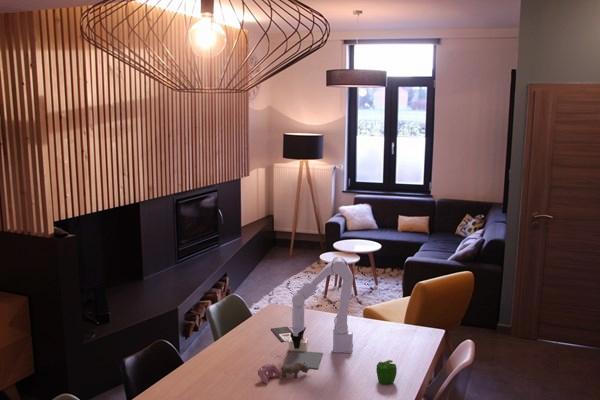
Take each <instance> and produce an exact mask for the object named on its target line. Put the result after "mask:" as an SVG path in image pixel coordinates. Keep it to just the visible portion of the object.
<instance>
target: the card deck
mask: <svg viewBox="0 0 600 400" xmlns="http://www.w3.org/2000/svg"><path fill="white" fill-rule="evenodd" d="M308 345H309V339H308V338H306V337H303V338H301V341H300V347H299V349H295V348H294V344H293V340H292V338H291V337H290V339H289V341H288V351H291V350H293V351H308V347H309V346H308Z"/></svg>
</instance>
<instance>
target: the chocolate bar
mask: <svg viewBox="0 0 600 400" xmlns="http://www.w3.org/2000/svg"><path fill="white" fill-rule="evenodd" d="M270 331H271V332H272V333H273V334H274V335H275V336H276V338H277V339H279V341H280V342H281V343H284V342H289V339H290V337H291V336H290V335H291V333H292V334H293V330H292V329H291V328H290V327H288V326H281V327H272V328H270Z"/></svg>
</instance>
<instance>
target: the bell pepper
mask: <svg viewBox="0 0 600 400" xmlns="http://www.w3.org/2000/svg"><path fill="white" fill-rule="evenodd" d="M397 369H398V368H397V364H396V363H393V360H392V359H388V360H386V361H378V363H377V365H376V371H375V372H376V375H377V381H378V384H380V385H384V386H385V385H392V384H393V383H394V382H395V380H396V376H397V373H398V372H397Z"/></svg>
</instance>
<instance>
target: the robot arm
mask: <svg viewBox="0 0 600 400" xmlns="http://www.w3.org/2000/svg"><path fill="white" fill-rule="evenodd" d="M350 268H351V267H349V264H348V261H346V260H345V258H343V257H342V256H336V257H334V258H333V259H332V260H331V261H329V262H328V263H327V264H326V265H325V266H324V267H323V269H321V271H320V272H319V273H318V274H317V275H316V276H315V277H314V278H313V279H312V280H308V281H306V282H304V283H303V286H302V287H301V288H299V289H297V290H296V292H294V293H293V295H292V299H291V302H292V309H291V312H292V317H291V318H292V320H291V321H292V322H291V323H292V325H290V326H289V329H291V331H292V332H293V334H292V333H291V335H290V336H291V338H292V340H293V344H294V348H295V349H299V347H300V341H301V338H304V333H305V331H306V329H307V327H306V326H305V302H306V300H308V299H309V298H310V297H311V296H312V295H313V294H314V293H315V292H316V291H317V287H318V285H319V284H320V283H322V282H323V281H324V280H325V279H326V278H327V277H329V276H334V275H335V274H336V275H338V276H339V277H340V278H341V279H342V285H341V291H340V297H339V304H338V309H337V312H336V316H335V317H334V319H333V325H334V328H333V330H332V348H331V352H332V353H345V354H352V352H353V348H354V342H353V340H354V338H353V336H354V334H353V333H354V332H352V331H350V330H349V329H348V328H349V327H348V313H349V306H350V300H351V295H352V289H353V284H354V283H353V281H354V275H353V272H352V269H350Z"/></svg>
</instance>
